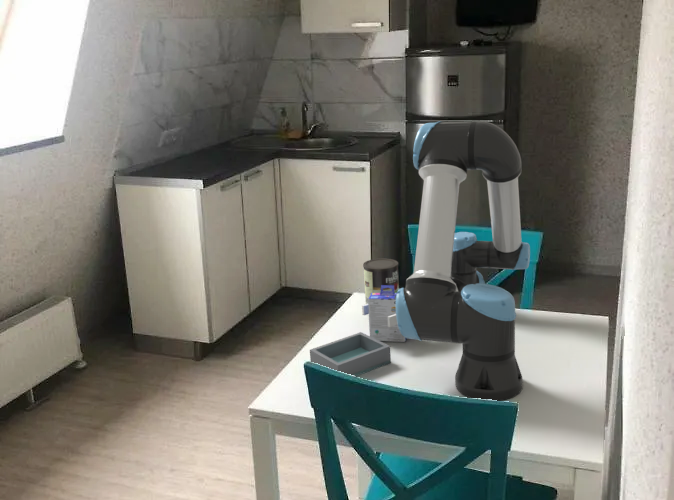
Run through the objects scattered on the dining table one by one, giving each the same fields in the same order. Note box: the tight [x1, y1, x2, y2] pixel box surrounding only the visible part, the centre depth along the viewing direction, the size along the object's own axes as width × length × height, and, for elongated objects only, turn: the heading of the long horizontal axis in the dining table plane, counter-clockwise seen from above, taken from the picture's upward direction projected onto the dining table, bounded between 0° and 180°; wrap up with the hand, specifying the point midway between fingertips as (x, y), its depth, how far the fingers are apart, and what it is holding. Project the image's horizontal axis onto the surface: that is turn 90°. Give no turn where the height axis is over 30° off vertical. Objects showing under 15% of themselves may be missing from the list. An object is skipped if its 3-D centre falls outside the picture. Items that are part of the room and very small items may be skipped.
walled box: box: [309, 331, 392, 377], centre depth 184 cm, size 12×16×4 cm
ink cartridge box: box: [368, 285, 408, 343], centre depth 197 cm, size 10×6×14 cm, turn 79°
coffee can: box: [362, 257, 400, 304], centre depth 218 cm, size 10×10×14 cm
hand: (375, 316), depth 194 cm, fingers closed on ink cartridge box, 10 cm apart
